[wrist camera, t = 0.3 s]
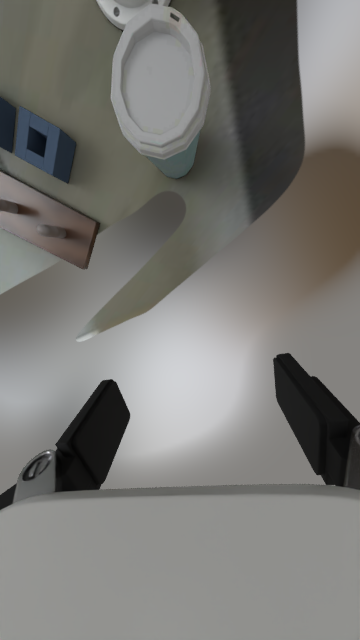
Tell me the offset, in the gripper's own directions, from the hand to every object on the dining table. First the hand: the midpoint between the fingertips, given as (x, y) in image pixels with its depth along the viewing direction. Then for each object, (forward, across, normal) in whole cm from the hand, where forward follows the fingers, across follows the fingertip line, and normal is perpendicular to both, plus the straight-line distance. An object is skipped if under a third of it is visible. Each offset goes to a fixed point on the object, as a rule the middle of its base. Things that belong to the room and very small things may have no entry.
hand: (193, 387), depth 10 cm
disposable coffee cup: (+31, -1, -23) cm, 39 cm away
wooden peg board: (+31, +28, -20) cm, 46 cm away
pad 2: (+31, +20, -29) cm, 47 cm away
